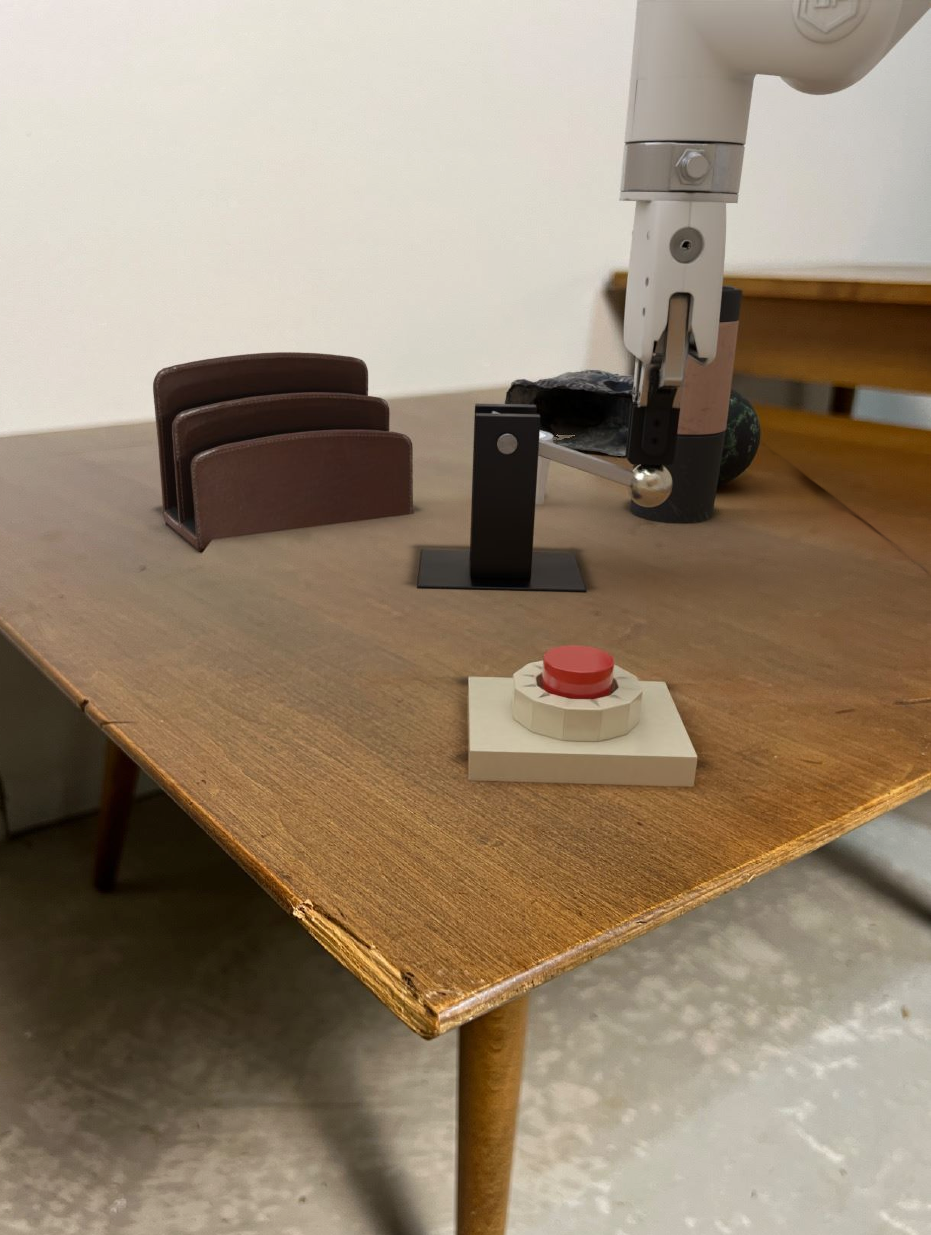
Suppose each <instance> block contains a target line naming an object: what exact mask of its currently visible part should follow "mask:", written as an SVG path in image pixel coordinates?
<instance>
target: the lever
mask: <svg viewBox="0 0 931 1235" xmlns="http://www.w3.org/2000/svg"><path fill="white" fill-rule="evenodd" d="M492 414H501V413H498V412H495V411H492ZM538 456H541V457H544V458H547V459H550V461H552V462H556V463H560V464H562V465H564V466H568V467H571V468H573V469H577V470H579V471H583V472H586V473H588V474H591V475H594V476H597V477H600V478H602V479H607V480H609V481H611V482H614V483H617V484H621V485H624V486H626V490H627V493H628V495H629V497H630V500H631V499H632V500H633V501H634V502H635V503H637V504H638V505H640V506H643V507H655V506H658V505H660V504H662V503H663V502H664V501H665V500H666V499H667V498H668V497H669V495H670V493H671V491H672V485H673V483H672V477H671V474H670V472H669V471H668V470H667V469H666V468H665V467H664V466H663V465H638V466H637V467H636V468H634V469H633V468H632V469H630V468H627V467H624V466H621V465H618V464H616V463H612V462H610V461H607V460H603V459H601V458H598V457H595V456H592V455H589V454H586V453H584V452H580V451H578V450H576V449H571V448H567V447H563V446H560V445H557V444H554V443H551V442H548V441H545V440H542V439H539V451H538Z"/></svg>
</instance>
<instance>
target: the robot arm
mask: <svg viewBox="0 0 931 1235" xmlns="http://www.w3.org/2000/svg"><path fill="white" fill-rule="evenodd" d="M930 9H931V0H636V9H635V10H636V11H635V22H634V30H633V31H634V33H633V43H632V44H633V45H632V53H631V54H632V55H631V56H632V57H631V66H630V67H631V68H630V76H629V77H630V78H629V90H628V98H627V99H628V103H627V109H626V121H625V132H624V134H625V135H624V140H623V141H624V145H623V154H622V165H621V174H620V185H619V186H620V188H619V191H620V192H619V198H618V199H619V201H622V202H635V207H634V208H635V209H634V216H633V217H634V218H633V225H632V231H631V242H630V243H631V244H630V251H629V261H628V270H627V280H626V290H625V301H624V302H625V304H624V317H623V318H624V319H623V344H624V345H623V346H624V348H626V350H628V352H629V353H631V354H632V355H633V356H635V358H634V374H633V376H634V385H633V402H638V403H631V404H630V414H629V424H628V433H627V443H626V453H625V455H626V456H625V458H626V459H627V461H628V463H629V464H631V465H633V464H636V465H671V464H672V463H673V462H674V457H675V449H676V440H677V432H678V424H679V415H680V402H681V395H682V389H683V382H684V375H685V369H686V362H687V357H689V358H690V359H692V360H693V361H695V362H696V363H698V364H700V365H702V366H707V365H709V364H710V363H711V362H712V361H713V360H714V359H715V357H716V350H717V340H718V329H719V318H720V307H721V296H722V286H724V284H723V282H724V271H725V259H726V258H725V257H726V242H727V241H726V240H727V204H738V203H739V193H740V188H741V179H742V174H743V164H744V157H745V150H746V149H745V148H746V146H745V145H746V143H747V135H748V127H749V120H750V111H751V105H752V96H753V89H754V83H755V82H754V81H755V77H756V76H757V75H760V76H761V75H762V76H763V75H764V76H774V77H779V78H780V79H781V80H782V81H783V82H784V83H785V84H786V85H788V86H789V87H790V88H791V89H794V90H795V91H797V92H800V93H803V94H806V95H811V96H812V95H813V96H826V95H832V94H835V93H839V92H842V91H844V90H846V89H849V88H850V87H853V86H854V85H855V84H857V83H858V82H859V81H861V80H862V79H864V78H865V77H866V76H867V75H868V74H869V73H871V71H872V70H874V68H876V67H877V65H878V64H879V63H880V62H881V61H882V60H883V59H884V58H885V57H886V56H887V55H888V54H889V53H890V52H891V50H892V49H893V48H895V47H896V45H897V44H898V43H899V42H900V41H901V40H902V39H903V38H904V37H905V35H907V34H908V33H909V31H911V29H912V28H913V27H915V25H916V24H918V22H919V21H920V20H921V19H923V17H924V16H925V15H926V13H927V12H929V11H930Z"/></svg>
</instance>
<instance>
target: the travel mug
mask: <svg viewBox="0 0 931 1235" xmlns="http://www.w3.org/2000/svg"><path fill="white" fill-rule="evenodd" d="M743 292H744V291H743V289H740V288H739V289H738V288H737V287H735V286H730V285H722V296H721V307H720V318H719V329H718V340H717V350H716V357H715V359H714V360H713V361H712V362H711V363H710V364H709V365H707V366H702V365H700V364H698V363H696V362H695V361H693V360H692V359H690V358H689V357H687V362H686V369H685V375H684V382H683V389H682V395H681V402H680V415H679V424H678V432H677V440H676V449H675V457H674V462H673V463H672V464H671V465H663V466H664V467H665V468H666V469H667V470H668V471H669V472H670V474H671V477H672V483H673V485H672V491H671V493H670V495H669V497H668V498H667V499H666V500H665V501H664V502H663V503H662V504H660V505H658V506H655V507H643V506H640V505H638V504H637V503H635V502H634V501H633V500H632V499H631V498H630V512H631V514H632V515H633V516H635V517H637V518H640V519H641V520H642V519H643V520H646V521H651V522H655V523H662V524H678V525H688V524H698V523H704V522H707V521H709V520H711V519H712V518H713V513H714V508H715V501H716V495H717V488H718V486H717V483H718V477H719V471H720V464H721V458H722V452H723V446H724V439H725V433H726V431H725V430H726V426H727V417H728V409H729V401H730V392H731V389H732V383H733V374H734V368H735V367H734V365H735V356H736V351H737V350H736V349H737V341H738V330H739V325H740V324H739V323H740V320H739V319H740V315H741V306H742V300H743V299H742V298H743ZM637 466H638V465H636V464H632V470H633V469H634V468H636V467H637Z"/></svg>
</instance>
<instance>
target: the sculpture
mask: <svg viewBox="0 0 931 1235" xmlns="http://www.w3.org/2000/svg"><path fill="white" fill-rule="evenodd" d="M633 385H634V375H629V374H624V375H623V374H619V373H612V372H609V371H606V370H605V371H604V370H601V369H585V370H581V371H574V372H573V371H566V372H564V373H562V374H559V375H557V376H554V377H549V378H540V379H539V380H537V381H531V380H528V379H525V378H521V379H520V378H519V379H515V380H514V381H511V383H510V387H509V388H508V390H507V391H506V394H505V399H504V400H505V401H504V404H524V405H536V407H537V410H536V414H539V415H540V430H541V431H545V432H548V433H551V434H552V435H553V436H554V437H557V438H559V437H558V436H556V435H557V434H558V435H575V436H572V437H570V438H564V439H562V440H557V439H556V440H553V443H554V444H557V445H560V446H563V447H566V448H569V449H572V450H580V451H588V452H600V453H604V454H607V455H608V456H615V457H617V456H621V457H626V455H625V453H626V443H627V433H628V424H629V414H630V404H631V403H638V402H633Z"/></svg>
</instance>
